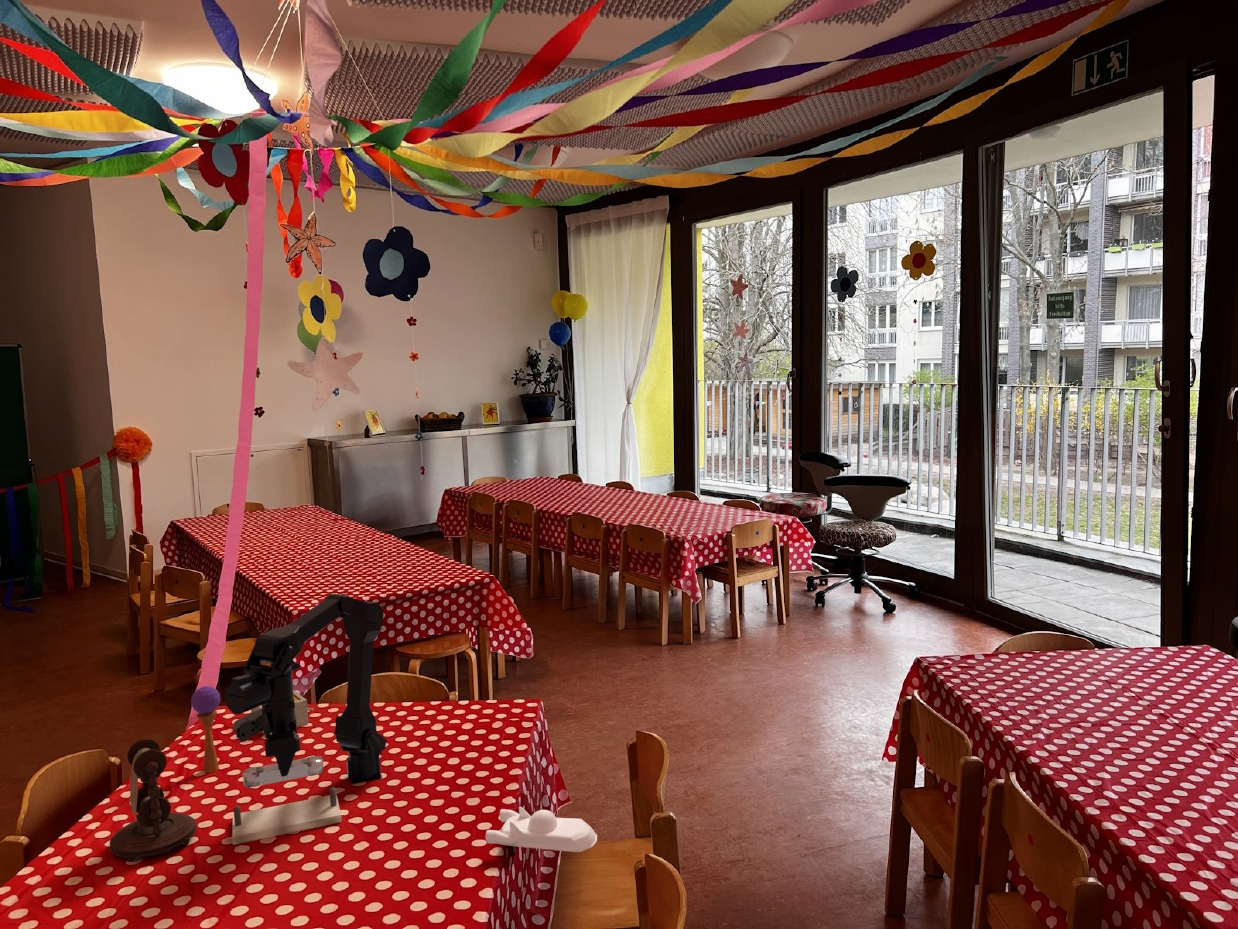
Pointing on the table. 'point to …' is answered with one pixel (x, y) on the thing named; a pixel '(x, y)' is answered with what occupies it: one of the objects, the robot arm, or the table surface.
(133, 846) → the dark brown upright piece
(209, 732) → the kendama
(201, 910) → the table surface
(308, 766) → the grey baby rattle
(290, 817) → the peg rack
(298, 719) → the pounding toy
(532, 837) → the plane toy
